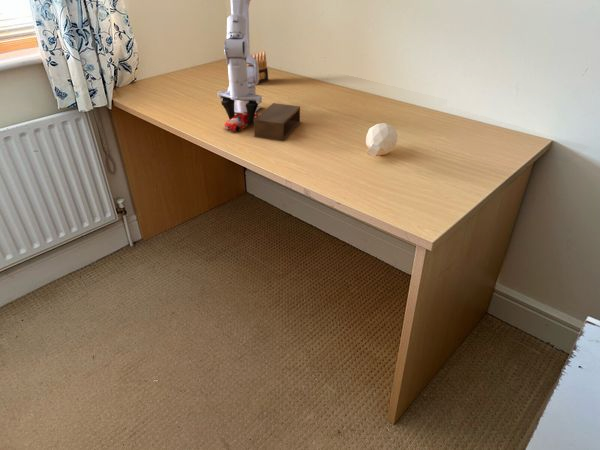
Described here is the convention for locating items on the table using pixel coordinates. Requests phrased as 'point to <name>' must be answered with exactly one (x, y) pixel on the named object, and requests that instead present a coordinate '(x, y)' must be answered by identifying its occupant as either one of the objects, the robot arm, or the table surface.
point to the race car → (238, 122)
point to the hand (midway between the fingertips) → (241, 122)
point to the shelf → (277, 121)
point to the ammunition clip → (261, 66)
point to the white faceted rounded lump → (381, 139)
